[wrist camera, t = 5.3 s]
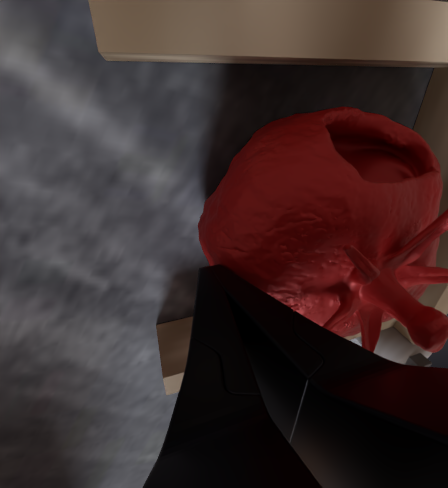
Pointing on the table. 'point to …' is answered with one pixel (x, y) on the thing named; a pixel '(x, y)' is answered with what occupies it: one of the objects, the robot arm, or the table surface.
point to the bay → (294, 53)
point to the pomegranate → (335, 222)
